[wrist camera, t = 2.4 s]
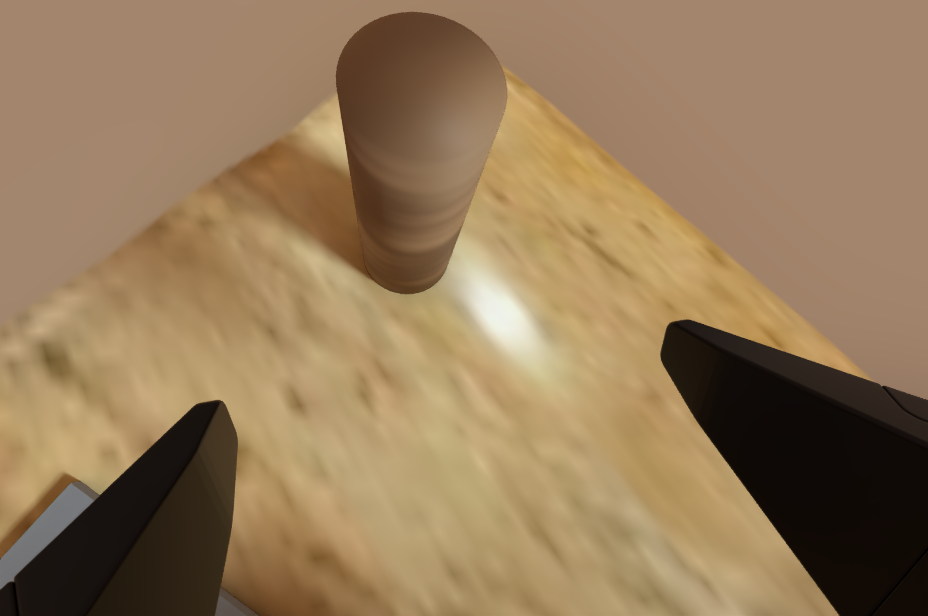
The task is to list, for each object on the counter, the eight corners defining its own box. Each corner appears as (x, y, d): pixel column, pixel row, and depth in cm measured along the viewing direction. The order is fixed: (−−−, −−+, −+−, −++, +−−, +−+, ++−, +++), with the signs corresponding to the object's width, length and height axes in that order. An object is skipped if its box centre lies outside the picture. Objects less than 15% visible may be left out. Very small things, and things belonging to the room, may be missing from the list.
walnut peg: (465, 246, 24) (538, 78, 12) (415, 311, 23) (443, 192, 11) (398, 198, 25) (406, -17, 13) (345, 259, 23) (298, 87, 11)
